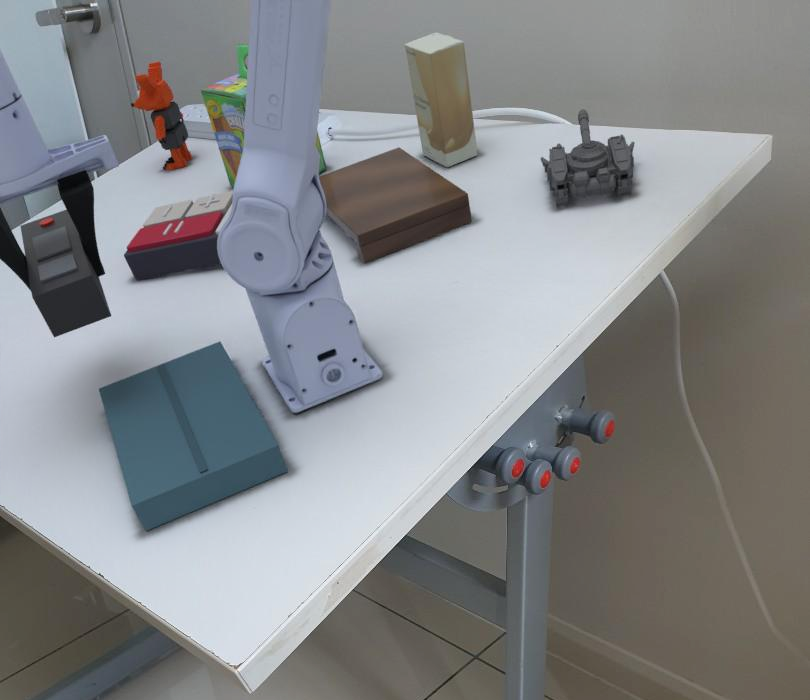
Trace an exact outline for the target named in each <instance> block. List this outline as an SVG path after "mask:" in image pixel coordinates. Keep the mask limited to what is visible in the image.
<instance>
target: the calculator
mask: <svg viewBox="0 0 810 700" xmlns="http://www.w3.org/2000/svg"><path fill="white" fill-rule="evenodd" d="M232 199H233V190H229V191H225V192H220V193H216V194H212V195H206V196H202V197H198V198H196V199H195V200H194V201H193V200H192V199H189V200H188V199H187V200H184V201H179V202H175V203H170V204H165V205H160V206H156V207H155V208H154V209H153V210H152V212H151V213H150V214H149V216H148V217H147V218H146V220H145V221H144V223H143V224H142V227H141V228H140V229H139V230H138V231H137V232H136V233H135V235H134V236H133V238H132V239H131V240H130V241H129V243H128V244H127V246H126V249H127V250H126V251H125V252H124V254H123V257H124V259H125V261H126V264H127V265H128V268H129V269H130V271H131V274H132V275H133V277H134V279H135V280H136V281H140V280H145V279H150V278H156V277H161V276H165V275H171V274H175V273H182V272H187V271H192V270H197V269H202V268H206V267H212V266H217V265H222V264H221V262H220V259H219V256H218V251H217V239H218V234H219V232H220V229H221V227H222V226H223V224H224V223H225V221H226V220H227V218H228V217H229V215H230V212H231V209H232Z"/></svg>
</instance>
